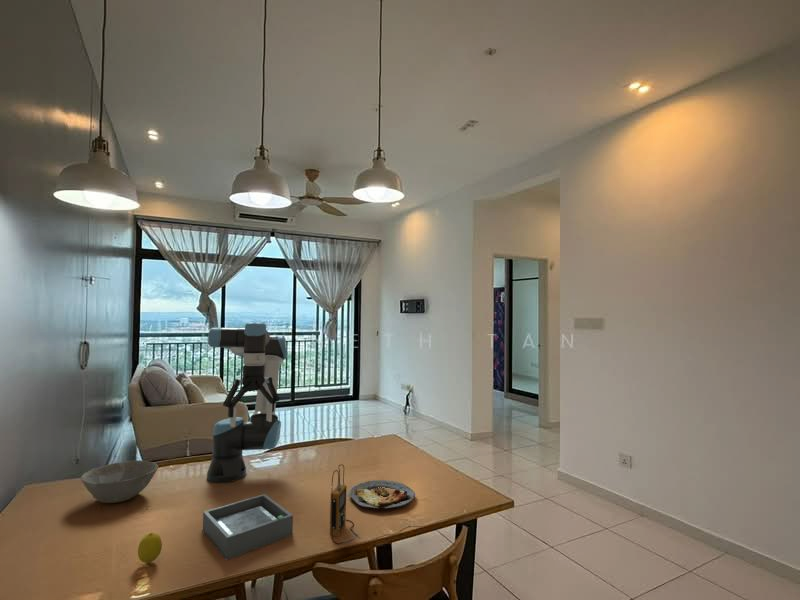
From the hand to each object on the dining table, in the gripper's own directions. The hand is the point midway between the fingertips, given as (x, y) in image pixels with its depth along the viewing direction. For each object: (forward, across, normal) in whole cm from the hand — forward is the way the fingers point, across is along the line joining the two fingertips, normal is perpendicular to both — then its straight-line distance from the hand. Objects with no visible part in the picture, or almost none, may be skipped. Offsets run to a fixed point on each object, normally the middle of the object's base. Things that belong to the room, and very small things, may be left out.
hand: (251, 423), depth 148 cm
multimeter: (+29, +15, -40) cm, 51 cm away
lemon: (+29, -35, -16) cm, 48 cm away
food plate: (+29, +39, -28) cm, 56 cm away
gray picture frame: (+26, -9, -19) cm, 33 cm away
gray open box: (+29, -9, -19) cm, 36 cm away
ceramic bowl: (+28, -32, +35) cm, 55 cm away
